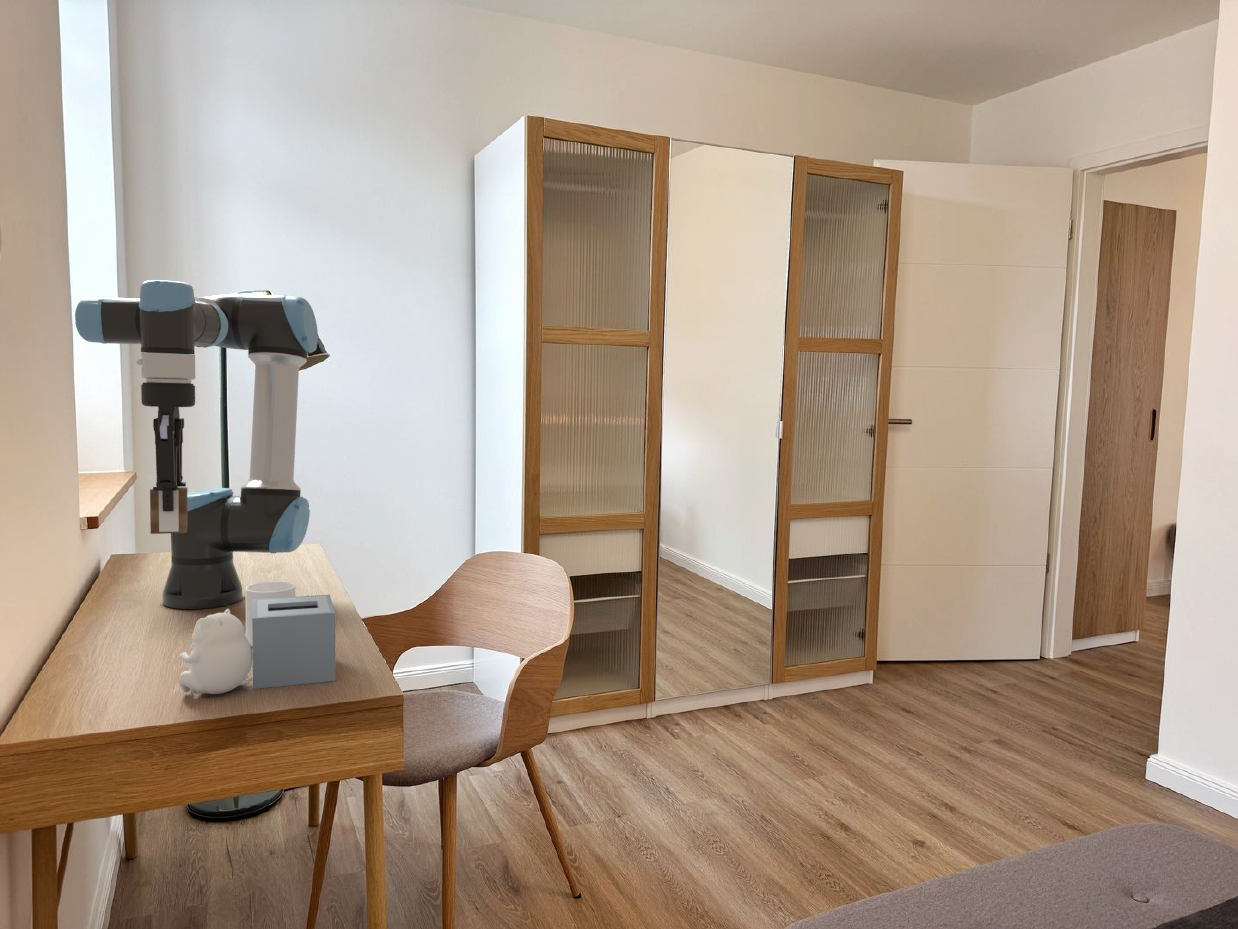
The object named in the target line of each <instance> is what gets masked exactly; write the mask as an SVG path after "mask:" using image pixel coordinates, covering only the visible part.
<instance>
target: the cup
mask: <svg viewBox="0 0 1238 929" xmlns="http://www.w3.org/2000/svg"><path fill="white" fill-rule="evenodd" d="M244 596H245V636H246V638H247V640H248V641H249V643H250V645H251V648H253V627H252V616H253V599H265V598H282V597H296V584H295V583H293V582H290V581H280V580H278V581H275V580H274V581H273V580H272V581H270V580H269V581H262V582H261V581H260V582H256V583H250V584H249V585H247V586H245V595H244Z"/></svg>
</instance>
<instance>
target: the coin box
mask: <svg viewBox="0 0 1238 929" xmlns="http://www.w3.org/2000/svg"><path fill="white" fill-rule="evenodd" d="M252 627H253V647H252V690H256V689H265V688H266V689H267V688H268V689H269V688H278V687H287V686H294V685H295V686H296V685H305V684H306V685H307V684H318V683H328V682H336V610H335V607H334V604H333V600H332V598H331V595H330V594H319V595H318V594H317V595H301V596H299V595H298V596H295V597H282V598H265V599H253V616H252Z"/></svg>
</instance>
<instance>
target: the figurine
mask: <svg viewBox="0 0 1238 929" xmlns="http://www.w3.org/2000/svg"><path fill="white" fill-rule="evenodd" d="M191 641H192V643H191V644H190V646H189V648H190V649H191V652H190V655H189V654H188V652H186V651H183V652H181V653H180V654H179V655H178V656H177V660H182V661H183V662H185V663H187V664H188V666H189V667H188V668H189V669H188V670H185V671H182V672H181V674H180V675H179V678H178V680H179V685H180V688H181V689H182V691H183V692H184V693H189V692H190V691H192V692H194V693H197V694H203V693H204V694H208V695H220V694H224V693H227V692H230V691H232V690H234V689H235V688H237V687H239V686H245V685H248V684H250V683H251V682H253V676H250V675H249V673H250V671H251V668H252V666H253V647H251V645H250V643H249V641H248V640H247V638H246V632H245V628H244V625H243V623H242V621H241V620H240V618H238V617H236V616H235V615H234V614H231V609H230V608H226V610H224V612H216V613H214V614H208V615H207V616H205V617H201V618H199V619H198V620H197V621H196V622H195V625H194V629H193V631H192V634H191Z"/></svg>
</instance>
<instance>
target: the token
mask: <svg viewBox="0 0 1238 929" xmlns="http://www.w3.org/2000/svg"><path fill="white" fill-rule="evenodd" d="M177 490H178V491H179V531H178V532H159V491H153V487H151V488H150V489H149V500H150V501H149V506H150V511H149V513H150V514H149V515H150V516H149V517H150V523H149V524H150V525H149V526H150V535H157V534H158V535H159V534H160V535H161V534H171V533H186V532H187V531H188V499H187V493H188V487H178V488H177Z"/></svg>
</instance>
